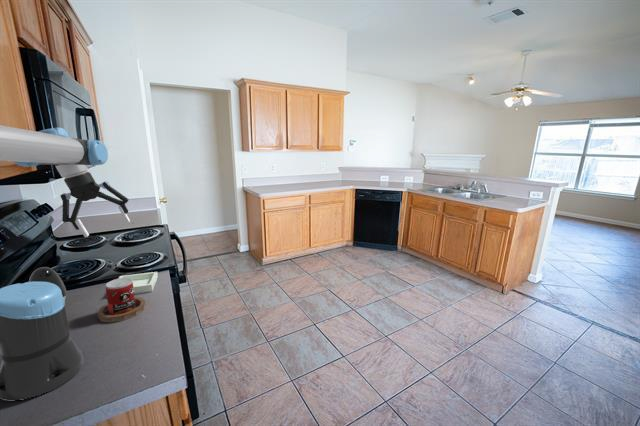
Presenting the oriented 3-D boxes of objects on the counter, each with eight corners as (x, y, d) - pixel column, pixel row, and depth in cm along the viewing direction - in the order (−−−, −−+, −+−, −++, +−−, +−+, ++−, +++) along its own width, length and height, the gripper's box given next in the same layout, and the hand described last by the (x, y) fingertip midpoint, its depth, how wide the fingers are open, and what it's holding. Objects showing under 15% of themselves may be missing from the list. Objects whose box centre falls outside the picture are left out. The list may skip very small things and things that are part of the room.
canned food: (114, 320, 92) (109, 289, 90) (106, 311, 97) (101, 282, 95) (139, 310, 98) (136, 281, 96) (130, 303, 103) (127, 275, 101)
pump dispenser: (39, 317, 93) (31, 275, 90) (22, 311, 96) (13, 270, 93) (75, 303, 102) (68, 264, 99) (58, 298, 106) (51, 260, 103)
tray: (152, 291, 112) (151, 284, 111) (110, 297, 107) (109, 290, 106) (157, 277, 125) (157, 271, 124) (120, 282, 119) (120, 276, 119)
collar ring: (140, 317, 94) (140, 312, 94) (92, 325, 89) (91, 320, 89) (148, 299, 106) (148, 294, 106) (106, 305, 101) (105, 300, 101)
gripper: (118, 162, 102) (145, 213, 110) (35, 185, 93) (71, 239, 101) (115, 164, 96) (143, 218, 104) (26, 188, 87) (65, 246, 95)
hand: (108, 228), depth 103 cm, fingers open, 13 cm apart
